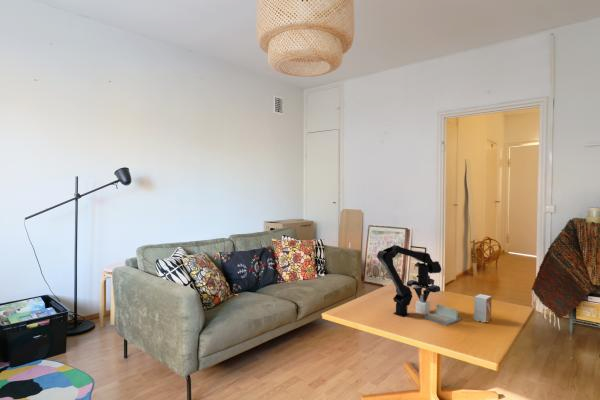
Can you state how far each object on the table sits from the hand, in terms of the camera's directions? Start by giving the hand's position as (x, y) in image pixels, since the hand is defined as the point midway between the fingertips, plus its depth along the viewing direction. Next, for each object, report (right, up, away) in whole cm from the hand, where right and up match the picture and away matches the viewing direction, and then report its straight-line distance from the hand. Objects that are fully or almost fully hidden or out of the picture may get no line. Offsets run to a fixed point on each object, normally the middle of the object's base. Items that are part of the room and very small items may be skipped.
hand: (422, 300), depth 205 cm
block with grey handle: (0, -7, 0) cm, 7 cm away
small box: (+28, -7, -12) cm, 32 cm away
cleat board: (+7, -7, -11) cm, 15 cm away
